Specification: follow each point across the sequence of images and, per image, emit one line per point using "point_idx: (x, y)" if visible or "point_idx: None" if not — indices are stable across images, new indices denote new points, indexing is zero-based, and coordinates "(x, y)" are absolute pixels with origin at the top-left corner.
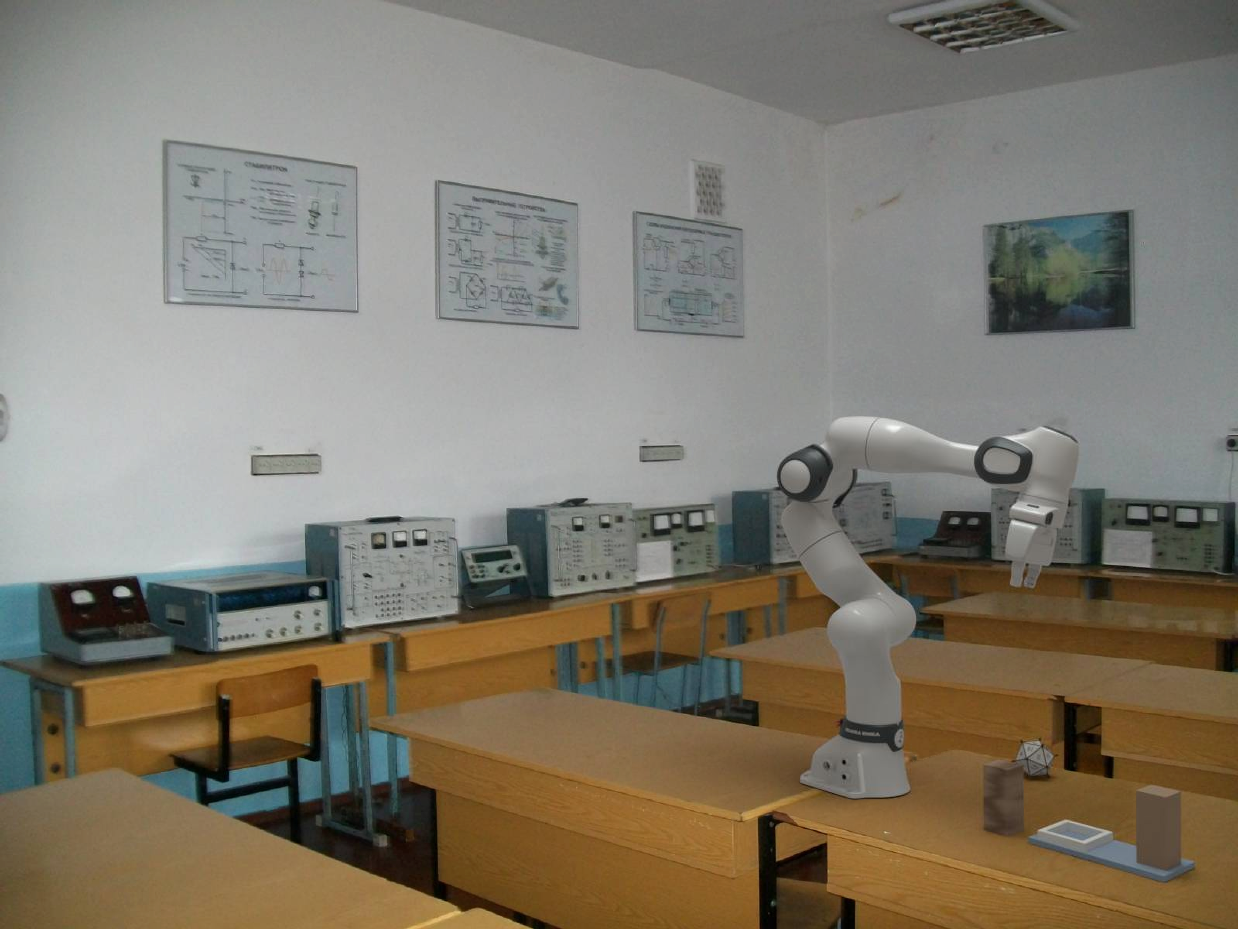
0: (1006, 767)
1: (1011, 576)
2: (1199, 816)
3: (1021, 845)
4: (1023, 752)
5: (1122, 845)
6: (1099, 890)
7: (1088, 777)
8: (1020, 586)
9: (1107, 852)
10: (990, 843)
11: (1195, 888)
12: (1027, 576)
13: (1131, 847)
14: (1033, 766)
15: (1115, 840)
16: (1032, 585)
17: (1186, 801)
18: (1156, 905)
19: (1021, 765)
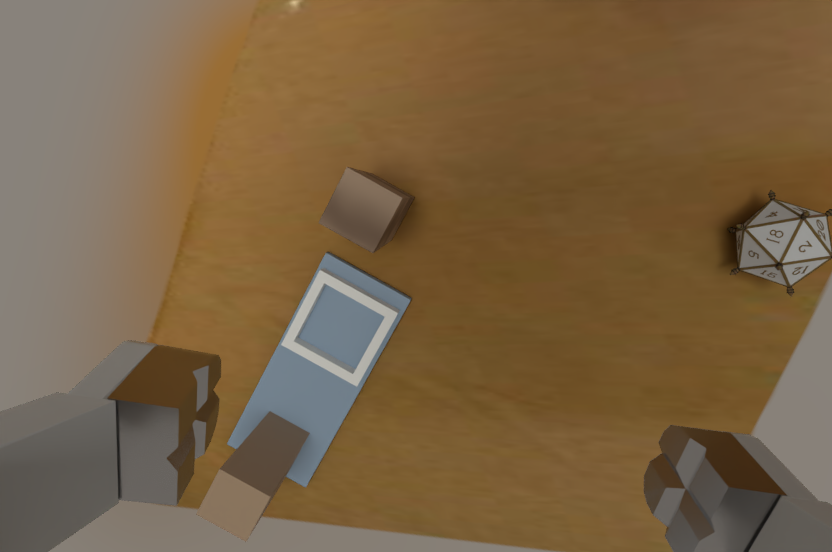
0: (338, 219)
1: (74, 387)
2: (571, 513)
3: (313, 241)
4: (769, 220)
5: (340, 394)
6: None
7: (781, 342)
8: (211, 429)
9: (298, 372)
10: (304, 192)
11: None
12: (786, 513)
13: (336, 407)
14: (739, 241)
15: (361, 385)
16: (654, 507)
17: None
18: None
19: (366, 249)
